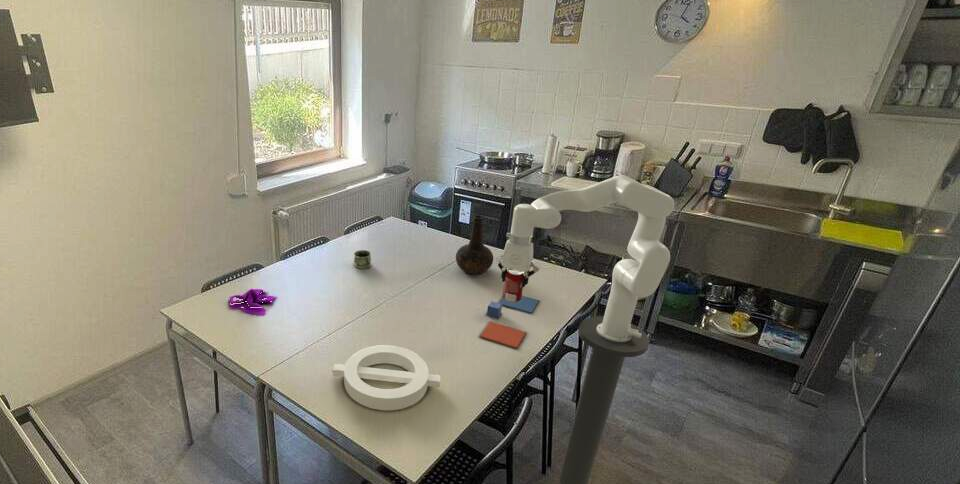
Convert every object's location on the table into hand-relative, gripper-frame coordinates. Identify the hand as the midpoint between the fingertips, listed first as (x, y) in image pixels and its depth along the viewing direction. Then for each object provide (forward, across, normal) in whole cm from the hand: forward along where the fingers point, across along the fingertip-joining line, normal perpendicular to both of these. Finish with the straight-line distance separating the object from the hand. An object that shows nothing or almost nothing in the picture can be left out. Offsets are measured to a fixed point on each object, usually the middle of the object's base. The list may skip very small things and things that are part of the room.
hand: (514, 282), depth 182 cm
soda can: (+7, 0, 0) cm, 7 cm away
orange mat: (+22, 0, -3) cm, 22 cm away
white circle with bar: (+22, -25, -52) cm, 61 cm away
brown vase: (+22, -31, +44) cm, 58 cm away
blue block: (+22, -8, +10) cm, 25 cm away
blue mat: (+22, -2, +25) cm, 33 cm away
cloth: (+22, -99, -37) cm, 108 cm away
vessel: (+22, -79, +20) cm, 85 cm away
